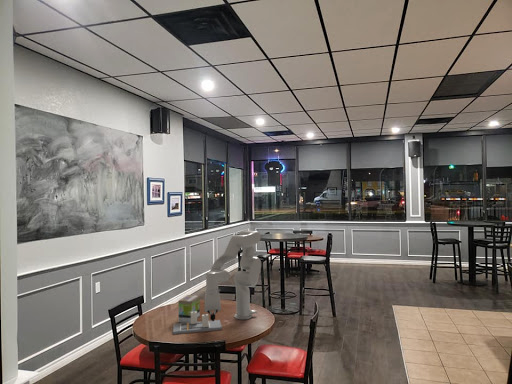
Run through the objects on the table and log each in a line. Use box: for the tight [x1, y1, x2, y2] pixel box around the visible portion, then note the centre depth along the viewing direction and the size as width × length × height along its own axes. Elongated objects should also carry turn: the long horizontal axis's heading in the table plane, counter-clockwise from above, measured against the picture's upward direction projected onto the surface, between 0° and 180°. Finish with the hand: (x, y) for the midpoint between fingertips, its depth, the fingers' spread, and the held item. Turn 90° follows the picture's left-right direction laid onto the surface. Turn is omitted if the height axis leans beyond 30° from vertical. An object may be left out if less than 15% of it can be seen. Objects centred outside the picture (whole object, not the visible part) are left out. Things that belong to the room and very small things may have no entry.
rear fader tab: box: [191, 311, 198, 324], centre depth 229 cm, size 4×3×7 cm
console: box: [172, 319, 223, 335], centre depth 225 cm, size 30×14×2 cm, turn 101°
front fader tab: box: [201, 313, 210, 327], centre depth 222 cm, size 4×3×7 cm
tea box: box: [178, 294, 201, 323], centre depth 242 cm, size 15×10×15 cm, turn 168°
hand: (212, 320), depth 223 cm, fingers closed
